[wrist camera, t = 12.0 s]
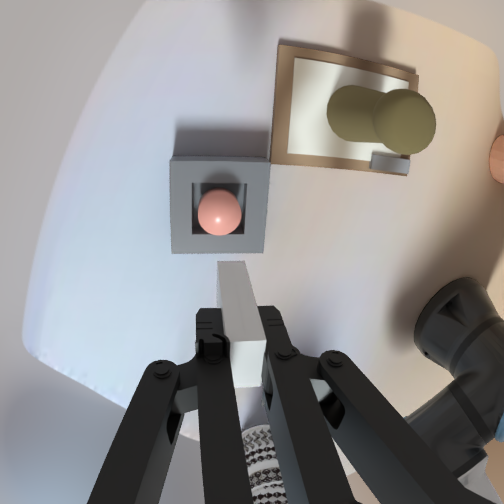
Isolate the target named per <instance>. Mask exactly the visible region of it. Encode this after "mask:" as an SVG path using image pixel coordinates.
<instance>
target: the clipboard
mask: <svg viewBox="0 0 504 504" xmlns="http://www.w3.org/2000/svg"><path fill="white" fill-rule="evenodd" d="M418 82H419V75H416V74H413V73H410V72H407V71H403V70H400V69H397V68H393V67H390V66H386V65H382V64H379V63H375V62H371V61H367V60H363V59H358V58H354V57H350V56H345V55H340V54H335V53H330V52H325V51H319V50H313V49H307V48H301V47H294V46H287V45H278V49H277V63H276V78H275V92H274V106H273V119H272V133H271V146H270V159H269V162H270V163H271V164H280V165H297V166H312V167H325V168H337V169H348V170H358V171H367V172H376V173H385V174H393V175H401V176H407V174H408V173H409V167H410V155H405V154H398V153H396V152H394V151H392V150H390V149H388V148H387V147H386V146H385V145H384V144H383V143H364V142H349V141H346V140H343V139H341V138H339V137H338V136H337V135H336V134H335V133H334V132H333V131H332V129H331V127H330V125H329V123H328V119H327V115H326V113H327V104H328V102H329V99H330V97H331V96H332V95H333V93H334V92H335V91H336V90H338V89H339V88H341V87H343V86H347V85H356V86H361V87H365V88H369V89H373V90H377V91H381V92H385V93H387V92H389V91H391V90H394V89H409V90H412V91H415V92H417V93H418Z"/></svg>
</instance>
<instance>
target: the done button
mask: <svg viewBox="0 0 504 504" xmlns="http://www.w3.org/2000/svg"><path fill="white" fill-rule="evenodd" d="M198 220H199V223H200V225H201V227H202V228H203V229H204V230H205V231H206V232H208V233H210V234H213V235H219V236H220V235H226V234H229V233H231V232H232V231H234V230H235V229H236V228H237V226H238V225H239V223H240V220H241V209H240V206H239V203H238V200H237V198H236V196H235V195H234V194H233V193H232V192H231V191H230V190H228V189H225V188H213V189H210V190H208V191H206V192H205V193H204V194H203V195H202V197H201V198H200V201H199V204H198Z"/></svg>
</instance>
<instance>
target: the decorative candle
mask: <svg viewBox="0 0 504 504" xmlns="http://www.w3.org/2000/svg"><path fill="white" fill-rule="evenodd" d="M242 439H243V445H244V451H245V457H246V463H247V468H248V474H249V480H250V485H251V491H252V496H253V501H254V504H288V501H287V497H286V493H285V489H284V485H283V481H282V477H281V472H280V468H279V464H278V460H277V455H276V451H275V447H274V443H273V438H272V434H271V430H270V425H269V424H268V425H258V426H254V427H251V428H249V429H247V430H245V431H243V432H242Z"/></svg>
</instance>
